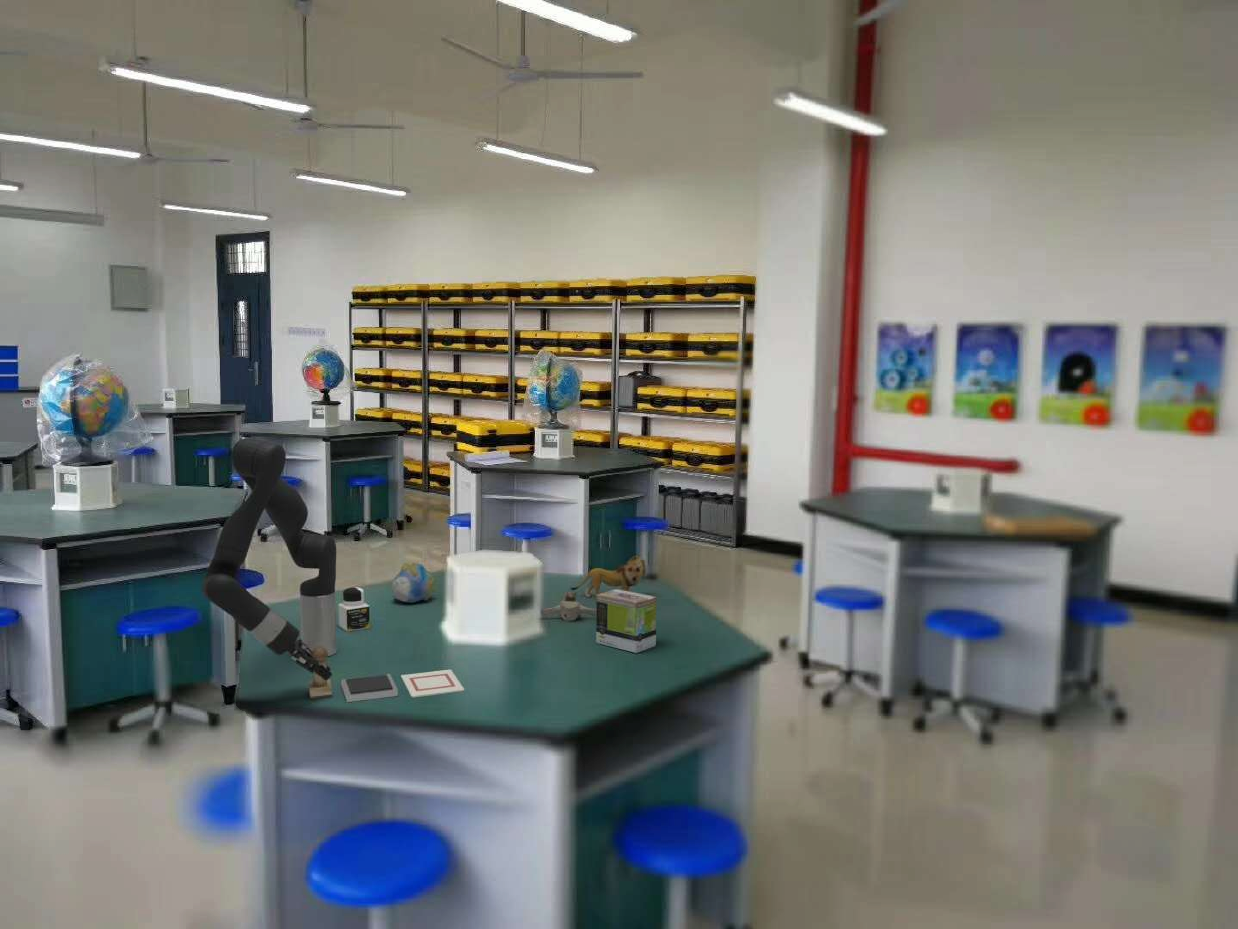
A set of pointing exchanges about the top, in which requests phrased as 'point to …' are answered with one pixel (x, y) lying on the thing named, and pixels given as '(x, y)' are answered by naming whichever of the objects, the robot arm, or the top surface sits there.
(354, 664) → the top surface
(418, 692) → the card
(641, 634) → the tea box
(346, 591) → the medicine bottle
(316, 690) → the stamp
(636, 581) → the animal model
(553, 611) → the vertebra
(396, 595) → the decorative rock
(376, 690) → the ink pad
